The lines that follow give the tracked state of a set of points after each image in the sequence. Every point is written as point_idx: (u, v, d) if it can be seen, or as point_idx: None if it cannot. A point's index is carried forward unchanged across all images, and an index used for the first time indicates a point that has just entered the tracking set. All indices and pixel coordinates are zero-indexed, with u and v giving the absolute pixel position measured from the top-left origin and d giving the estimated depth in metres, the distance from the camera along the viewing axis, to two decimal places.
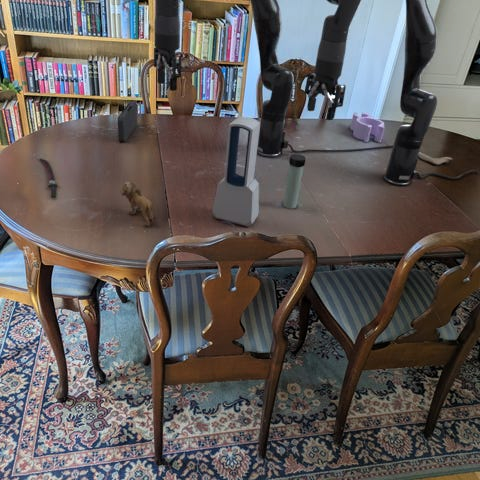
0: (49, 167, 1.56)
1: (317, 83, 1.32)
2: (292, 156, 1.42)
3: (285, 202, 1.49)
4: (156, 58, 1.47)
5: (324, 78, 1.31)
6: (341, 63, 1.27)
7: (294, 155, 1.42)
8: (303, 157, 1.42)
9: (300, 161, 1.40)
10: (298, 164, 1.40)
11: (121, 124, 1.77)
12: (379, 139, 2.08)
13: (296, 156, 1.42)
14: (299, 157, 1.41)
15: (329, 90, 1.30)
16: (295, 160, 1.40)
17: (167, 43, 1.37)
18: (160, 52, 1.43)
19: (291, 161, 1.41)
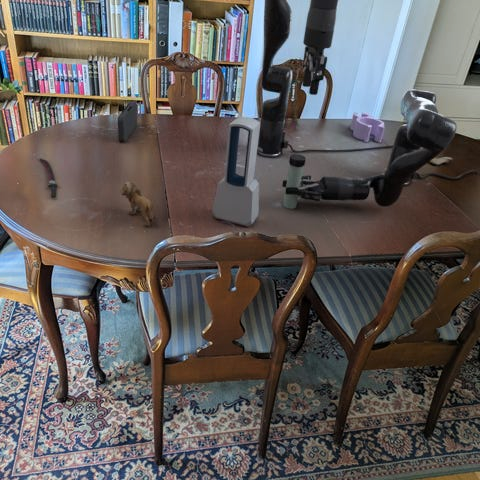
0: (49, 167, 1.56)
1: None
2: (292, 156, 1.42)
3: (285, 202, 1.49)
4: None
5: None
6: None
7: (294, 155, 1.42)
8: (303, 157, 1.42)
9: (300, 161, 1.40)
10: (298, 164, 1.40)
11: (121, 124, 1.77)
12: (379, 139, 2.08)
13: (296, 156, 1.42)
14: (299, 157, 1.41)
15: None
16: (295, 160, 1.40)
17: None
18: None
19: (291, 161, 1.41)
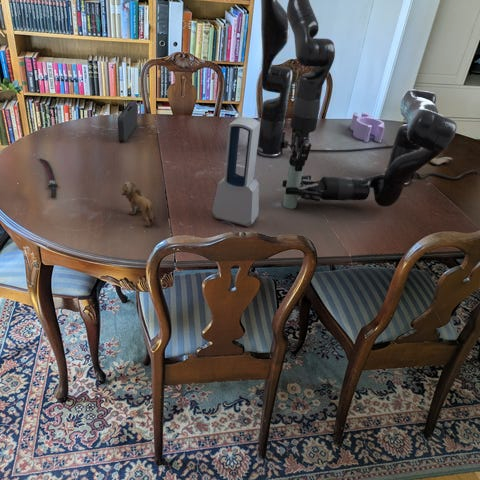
0: (49, 167, 1.56)
1: None
2: (292, 156, 1.42)
3: (285, 202, 1.49)
4: None
5: None
6: None
7: (294, 155, 1.42)
8: None
9: None
10: None
11: (121, 124, 1.77)
12: (379, 139, 2.08)
13: (296, 156, 1.42)
14: None
15: None
16: (295, 160, 1.40)
17: None
18: None
19: (291, 161, 1.41)
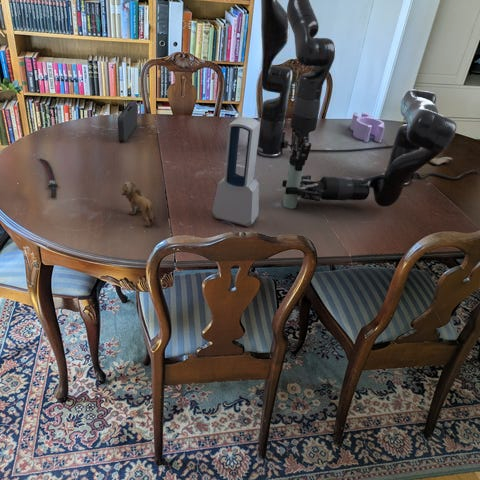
0: (49, 167, 1.56)
1: None
2: None
3: (285, 202, 1.49)
4: None
5: None
6: None
7: (294, 157, 1.41)
8: None
9: None
10: (304, 161, 1.42)
11: (121, 124, 1.77)
12: (379, 139, 2.08)
13: None
14: None
15: None
16: None
17: None
18: None
19: None
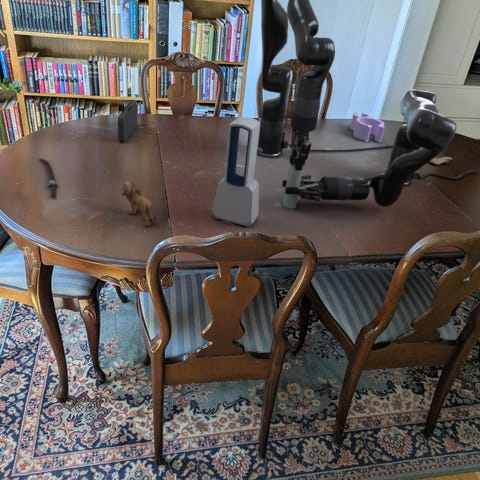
0: (49, 167, 1.56)
1: None
2: None
3: (285, 202, 1.49)
4: None
5: None
6: None
7: None
8: (292, 154, 1.42)
9: None
10: None
11: (121, 124, 1.77)
12: (379, 139, 2.08)
13: None
14: None
15: None
16: None
17: None
18: None
19: None
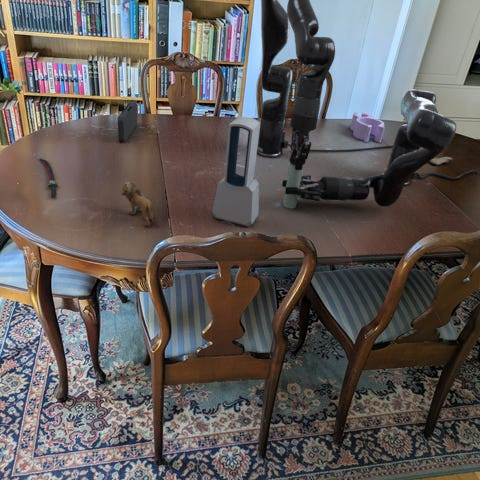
0: (49, 167, 1.56)
1: None
2: None
3: (285, 202, 1.49)
4: None
5: None
6: None
7: None
8: (296, 157, 1.40)
9: None
10: None
11: (121, 124, 1.77)
12: (379, 139, 2.08)
13: None
14: None
15: None
16: None
17: None
18: None
19: None
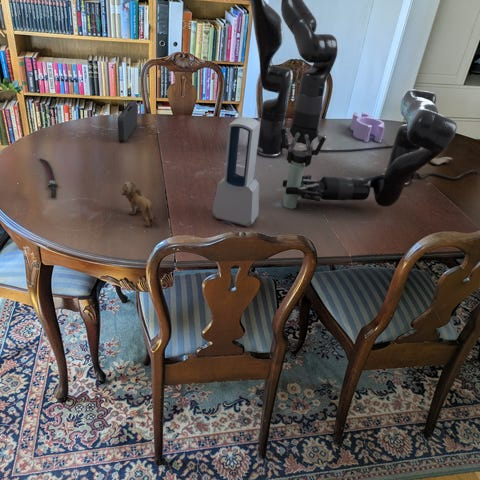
0: (49, 167, 1.56)
1: None
2: (302, 155, 1.40)
3: (285, 202, 1.49)
4: None
5: None
6: None
7: (298, 154, 1.40)
8: (297, 151, 1.42)
9: None
10: None
11: (121, 124, 1.77)
12: (379, 139, 2.08)
13: (299, 154, 1.41)
14: (300, 152, 1.42)
15: None
16: None
17: None
18: None
19: None
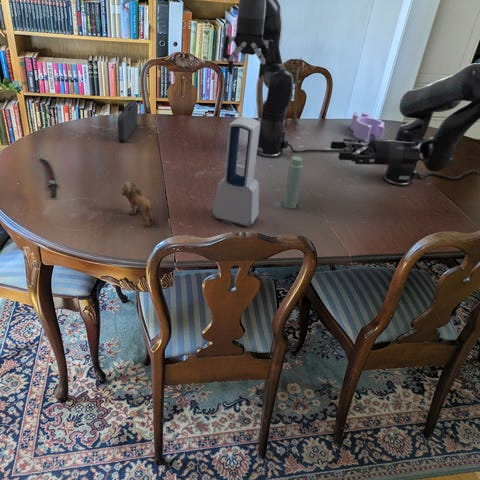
0: (49, 167, 1.56)
1: None
2: None
3: (285, 202, 1.49)
4: None
5: None
6: None
7: None
8: None
9: None
10: None
11: (121, 124, 1.77)
12: (379, 139, 2.08)
13: None
14: None
15: None
16: None
17: None
18: None
19: None
